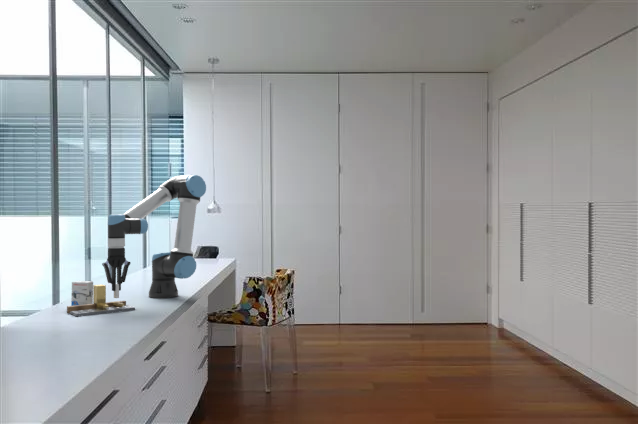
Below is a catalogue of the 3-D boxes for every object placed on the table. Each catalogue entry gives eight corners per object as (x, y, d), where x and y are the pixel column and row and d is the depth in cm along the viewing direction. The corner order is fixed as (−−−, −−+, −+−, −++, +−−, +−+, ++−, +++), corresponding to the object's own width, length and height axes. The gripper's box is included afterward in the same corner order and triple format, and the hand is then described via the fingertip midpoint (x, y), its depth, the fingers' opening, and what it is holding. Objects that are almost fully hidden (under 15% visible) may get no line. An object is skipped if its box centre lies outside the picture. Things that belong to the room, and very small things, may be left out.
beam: (124, 306, 276) (124, 300, 276) (132, 309, 269) (132, 302, 269) (66, 312, 259) (66, 306, 259) (73, 315, 252) (73, 308, 252)
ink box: (70, 307, 274) (70, 282, 274) (76, 305, 279) (76, 280, 279) (88, 307, 273) (88, 282, 273) (93, 305, 278) (93, 281, 278)
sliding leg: (102, 307, 270) (102, 284, 270) (110, 310, 262) (110, 286, 262) (93, 308, 268) (93, 285, 268) (101, 311, 260) (101, 287, 260)
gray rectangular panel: (128, 307, 272) (128, 304, 272) (135, 310, 266) (135, 306, 266) (70, 314, 256) (70, 310, 255) (76, 316, 249) (76, 313, 249)
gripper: (126, 246, 279) (126, 295, 279) (99, 247, 271) (99, 298, 271) (133, 247, 274) (133, 297, 274) (105, 248, 265) (105, 300, 265)
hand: (116, 297), depth 272 cm, fingers closed
